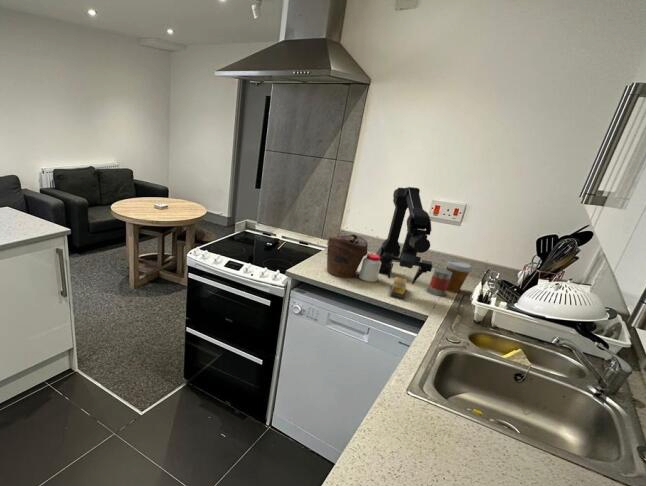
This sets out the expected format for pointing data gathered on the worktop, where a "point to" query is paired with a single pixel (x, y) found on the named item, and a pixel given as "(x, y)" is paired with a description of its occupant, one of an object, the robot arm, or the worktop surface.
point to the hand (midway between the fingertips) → (400, 280)
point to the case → (345, 254)
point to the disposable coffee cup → (457, 274)
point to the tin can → (439, 281)
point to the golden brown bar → (398, 287)
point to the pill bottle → (370, 268)
